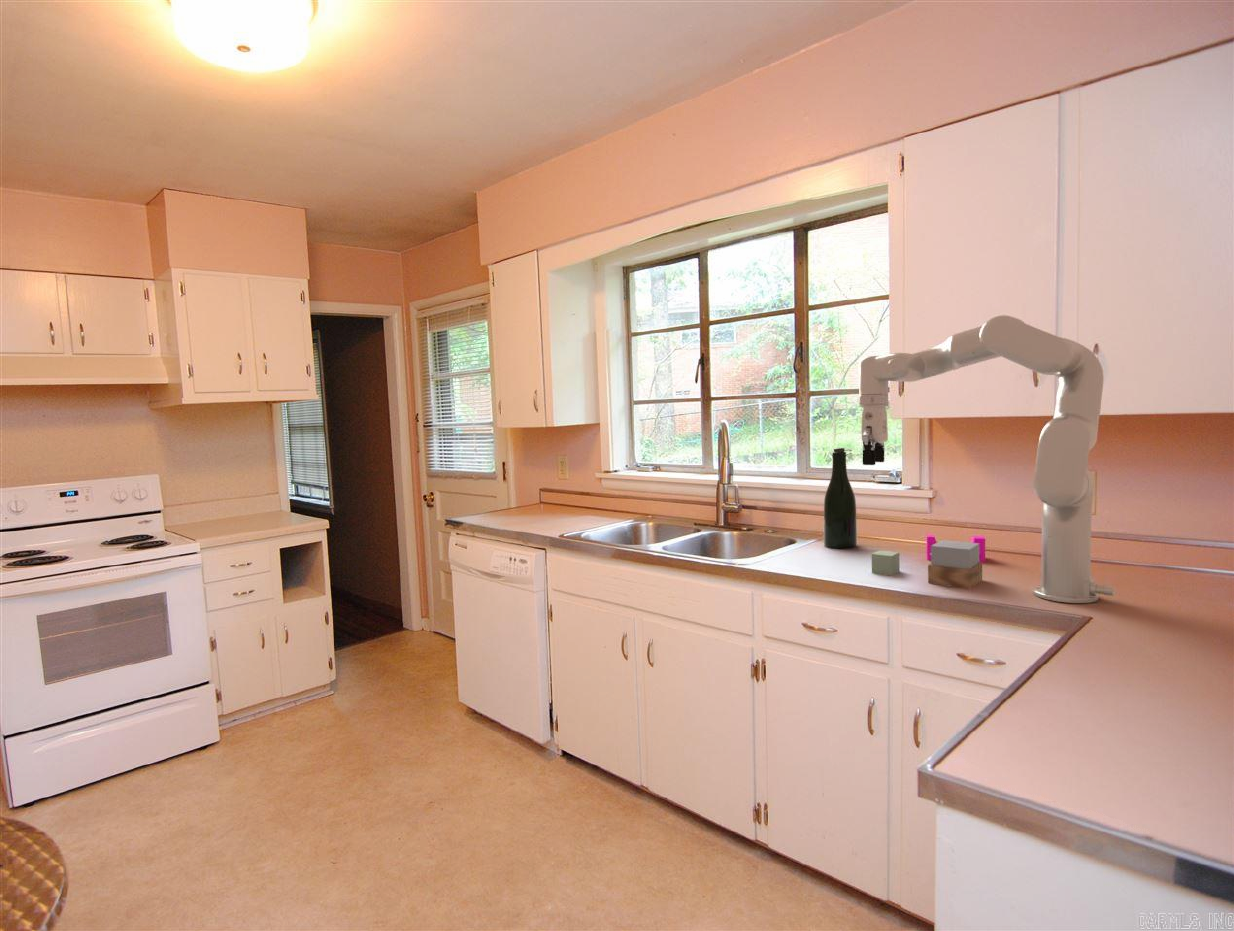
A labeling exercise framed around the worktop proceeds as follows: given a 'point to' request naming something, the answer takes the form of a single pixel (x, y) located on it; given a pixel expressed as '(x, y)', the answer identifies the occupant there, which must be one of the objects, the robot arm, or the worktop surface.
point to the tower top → (955, 554)
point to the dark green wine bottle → (840, 507)
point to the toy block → (975, 539)
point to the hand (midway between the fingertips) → (873, 463)
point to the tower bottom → (955, 575)
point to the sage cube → (885, 562)
